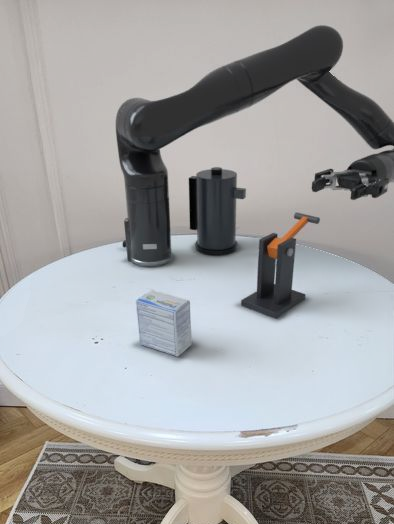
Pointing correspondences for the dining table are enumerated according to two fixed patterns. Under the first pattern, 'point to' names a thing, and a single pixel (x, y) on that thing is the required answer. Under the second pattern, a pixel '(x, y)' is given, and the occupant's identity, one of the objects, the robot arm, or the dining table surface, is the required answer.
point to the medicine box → (164, 322)
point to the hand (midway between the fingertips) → (332, 190)
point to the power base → (279, 294)
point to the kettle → (214, 210)
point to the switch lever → (291, 232)
